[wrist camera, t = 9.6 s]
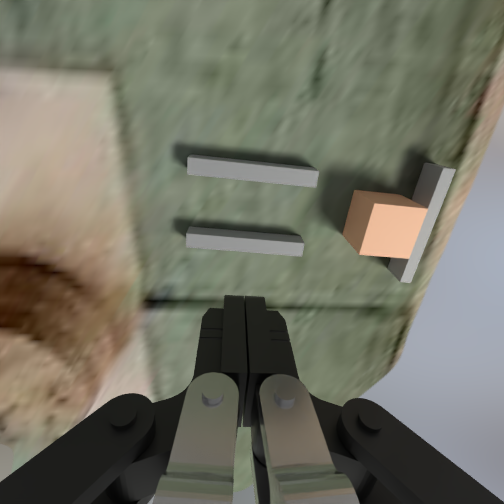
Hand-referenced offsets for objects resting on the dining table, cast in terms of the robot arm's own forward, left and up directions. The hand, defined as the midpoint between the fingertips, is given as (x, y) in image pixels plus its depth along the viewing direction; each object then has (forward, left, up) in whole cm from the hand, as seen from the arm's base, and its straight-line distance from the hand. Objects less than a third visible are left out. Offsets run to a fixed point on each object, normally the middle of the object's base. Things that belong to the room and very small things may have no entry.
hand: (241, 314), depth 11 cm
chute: (+2, +1, -20) cm, 20 cm away
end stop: (+2, +19, -20) cm, 28 cm away
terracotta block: (+1, +14, -20) cm, 25 cm away
